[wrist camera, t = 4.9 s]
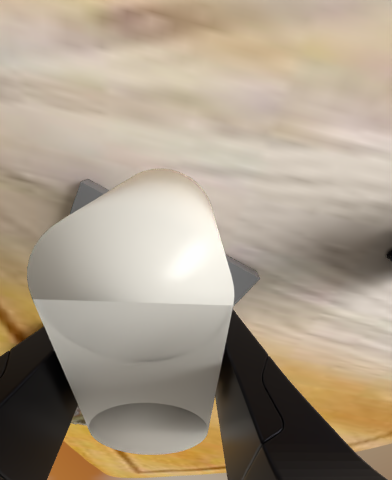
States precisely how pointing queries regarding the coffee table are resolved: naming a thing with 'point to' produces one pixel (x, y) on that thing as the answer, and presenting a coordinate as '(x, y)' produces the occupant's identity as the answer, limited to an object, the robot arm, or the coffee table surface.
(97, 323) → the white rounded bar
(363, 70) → the coffee table surface
